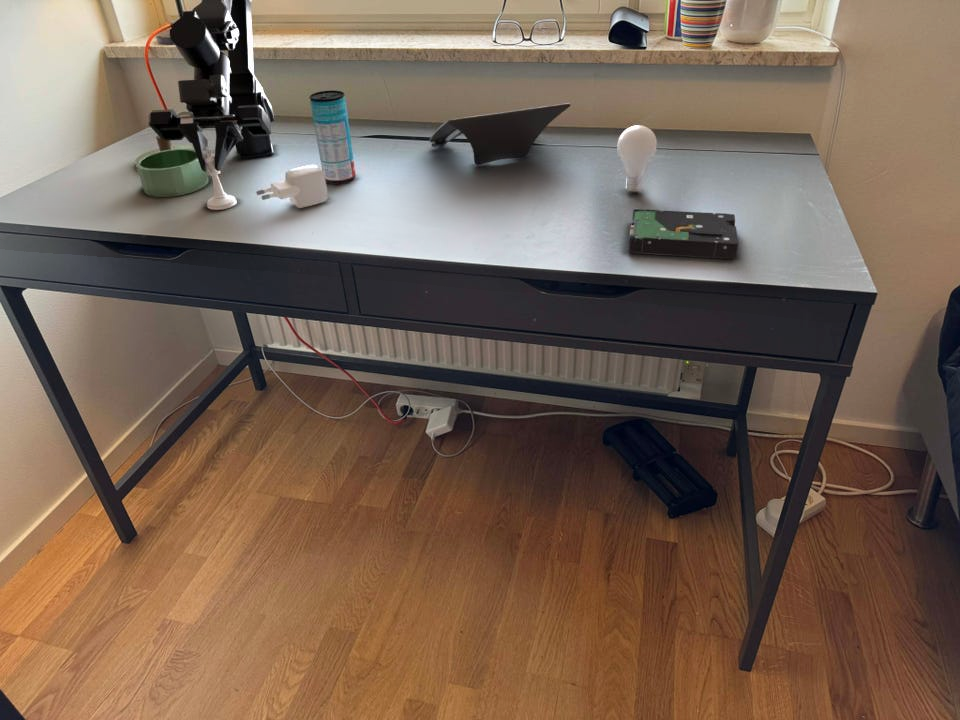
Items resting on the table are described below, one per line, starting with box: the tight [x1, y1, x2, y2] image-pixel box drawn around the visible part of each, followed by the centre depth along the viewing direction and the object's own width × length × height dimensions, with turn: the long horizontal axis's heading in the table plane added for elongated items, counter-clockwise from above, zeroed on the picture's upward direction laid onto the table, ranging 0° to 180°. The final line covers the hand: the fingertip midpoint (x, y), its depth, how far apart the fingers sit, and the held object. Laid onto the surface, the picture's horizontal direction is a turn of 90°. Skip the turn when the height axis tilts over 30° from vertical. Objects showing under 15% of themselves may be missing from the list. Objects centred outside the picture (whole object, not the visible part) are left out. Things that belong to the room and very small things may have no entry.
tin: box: [135, 149, 210, 198], centre depth 132 cm, size 11×11×5 cm
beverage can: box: [309, 90, 357, 185], centre depth 128 cm, size 6×6×15 cm
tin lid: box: [135, 135, 194, 163], centre depth 143 cm, size 12×12×5 cm
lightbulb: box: [616, 124, 658, 193], centre depth 118 cm, size 6×6×11 cm
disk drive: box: [627, 208, 739, 259], centre depth 104 cm, size 10×3×15 cm
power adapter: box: [256, 164, 329, 209], centre depth 121 cm, size 11×5×6 cm, turn 123°
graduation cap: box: [429, 102, 571, 166], centre depth 137 cm, size 23×23×9 cm
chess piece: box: [203, 146, 238, 211], centre depth 122 cm, size 5×5×10 cm
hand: (210, 170), depth 120 cm, fingers closed on chess piece
